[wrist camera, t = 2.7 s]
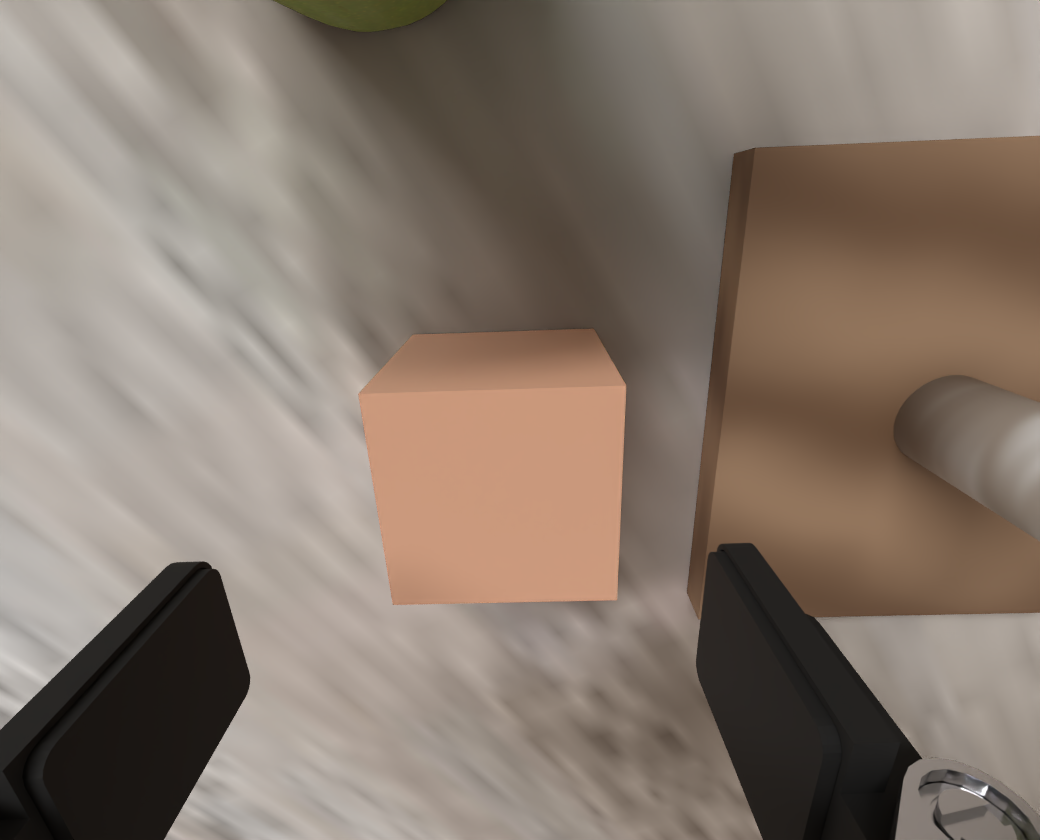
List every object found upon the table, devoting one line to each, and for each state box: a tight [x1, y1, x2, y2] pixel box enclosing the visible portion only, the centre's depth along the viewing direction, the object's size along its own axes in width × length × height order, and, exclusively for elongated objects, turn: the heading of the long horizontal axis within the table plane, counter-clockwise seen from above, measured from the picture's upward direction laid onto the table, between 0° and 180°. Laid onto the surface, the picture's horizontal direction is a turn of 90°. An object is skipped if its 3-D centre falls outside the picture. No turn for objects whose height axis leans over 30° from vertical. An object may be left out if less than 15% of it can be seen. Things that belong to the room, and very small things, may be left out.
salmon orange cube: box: [358, 328, 626, 605], centre depth 15 cm, size 6×6×6 cm
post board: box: [687, 136, 1040, 619], centre depth 14 cm, size 16×14×8 cm
